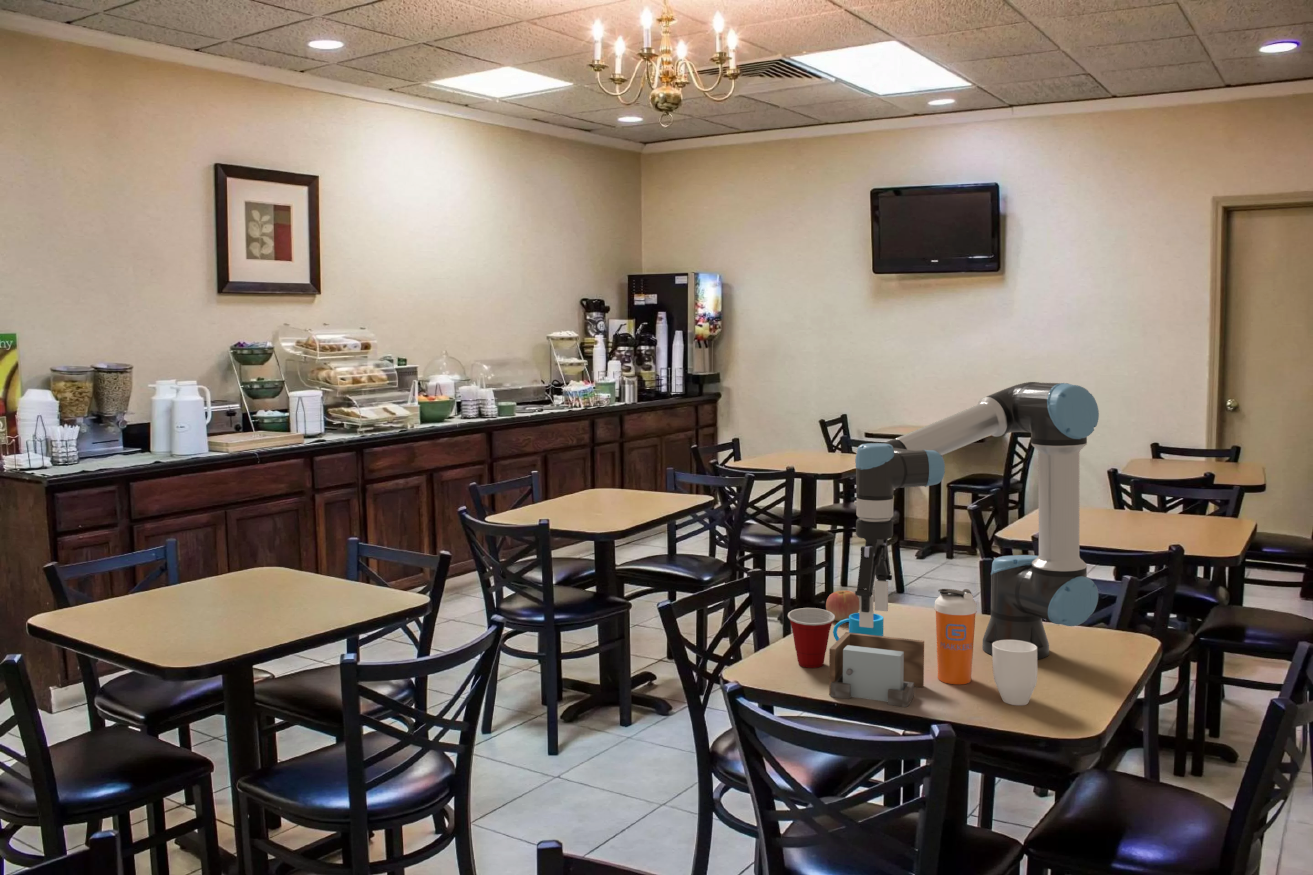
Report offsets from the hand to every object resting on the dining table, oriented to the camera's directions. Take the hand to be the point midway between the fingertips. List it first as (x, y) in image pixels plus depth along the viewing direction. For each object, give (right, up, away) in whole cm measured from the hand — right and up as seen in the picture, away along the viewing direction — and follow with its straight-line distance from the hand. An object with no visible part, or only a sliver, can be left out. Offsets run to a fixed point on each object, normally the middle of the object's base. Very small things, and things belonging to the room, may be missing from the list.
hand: (874, 618), depth 221 cm
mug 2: (+29, -17, -1) cm, 33 cm away
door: (0, -17, +1) cm, 17 cm away
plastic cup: (-10, -15, +23) cm, 29 cm away
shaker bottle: (+20, -16, +12) cm, 28 cm away
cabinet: (+2, -16, +5) cm, 17 cm away
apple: (+4, -11, +61) cm, 62 cm away
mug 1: (+3, -14, +35) cm, 38 cm away
